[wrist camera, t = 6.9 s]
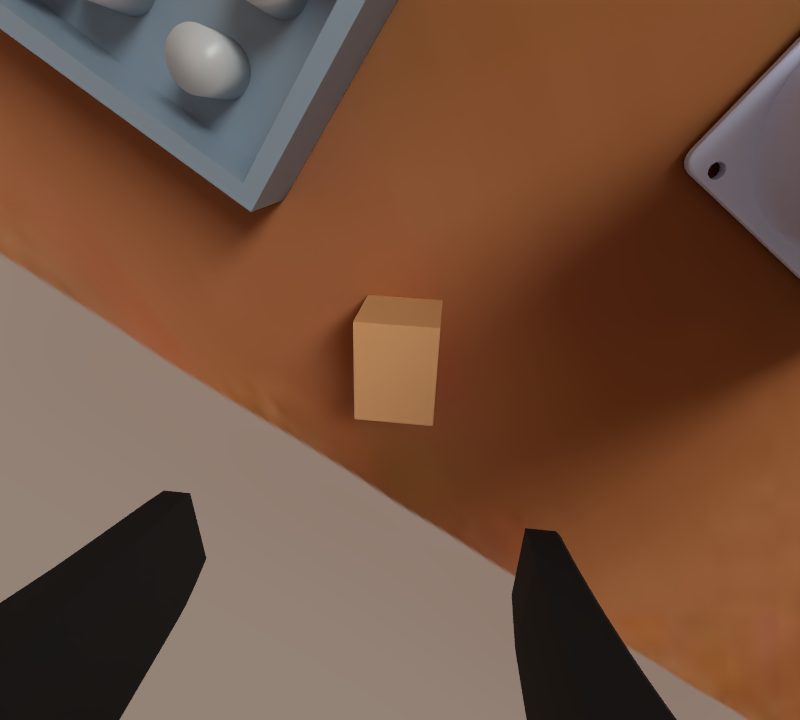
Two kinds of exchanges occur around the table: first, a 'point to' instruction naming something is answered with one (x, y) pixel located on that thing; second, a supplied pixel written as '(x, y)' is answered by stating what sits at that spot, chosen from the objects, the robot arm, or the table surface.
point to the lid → (396, 359)
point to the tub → (211, 74)
